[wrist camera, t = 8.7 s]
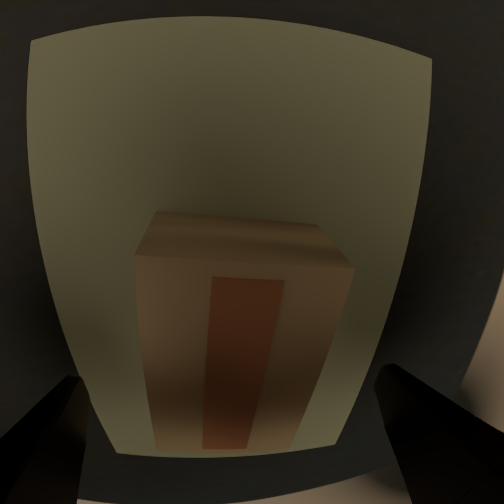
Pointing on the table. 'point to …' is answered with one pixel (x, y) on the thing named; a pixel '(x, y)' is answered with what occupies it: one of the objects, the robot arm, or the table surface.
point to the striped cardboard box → (234, 327)
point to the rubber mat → (219, 178)
